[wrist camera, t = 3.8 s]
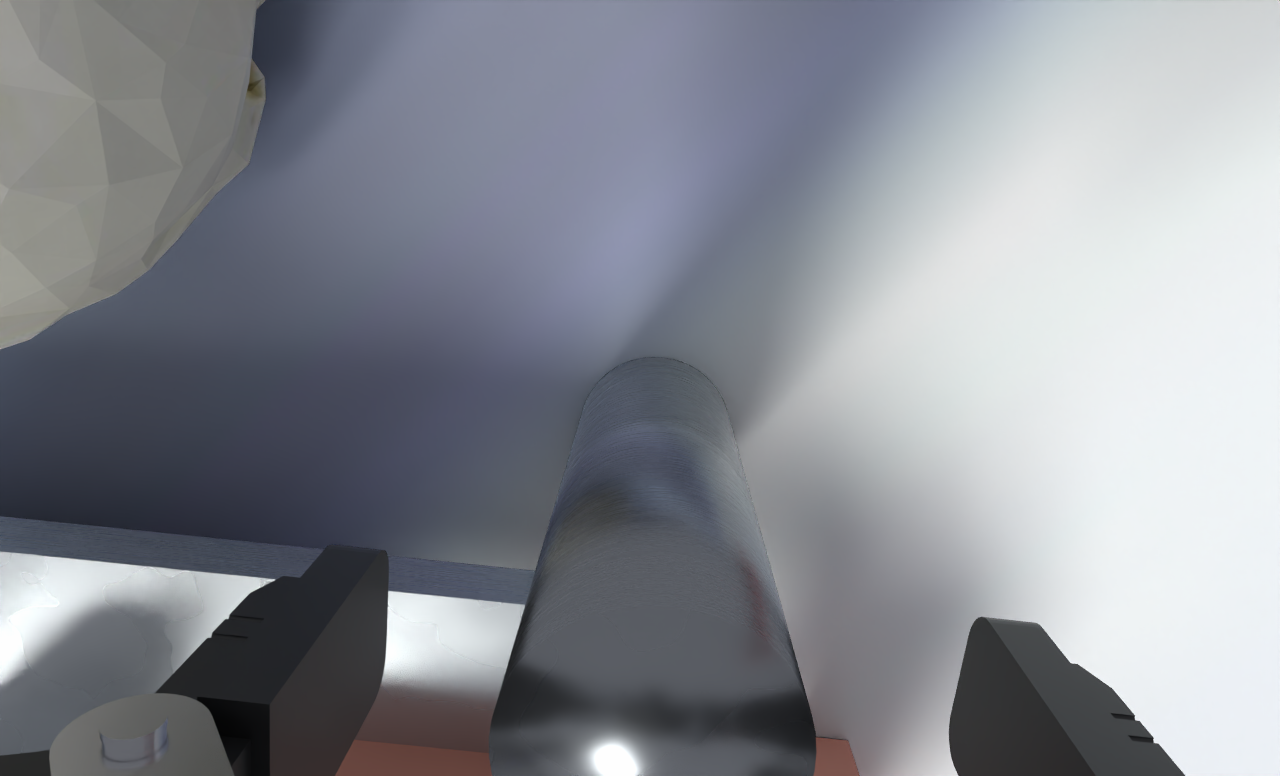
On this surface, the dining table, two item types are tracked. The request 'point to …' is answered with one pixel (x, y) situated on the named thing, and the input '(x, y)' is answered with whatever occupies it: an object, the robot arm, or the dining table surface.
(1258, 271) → the dining table surface
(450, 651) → the base plate with posts
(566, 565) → the pin
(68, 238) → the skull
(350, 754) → the bracket
